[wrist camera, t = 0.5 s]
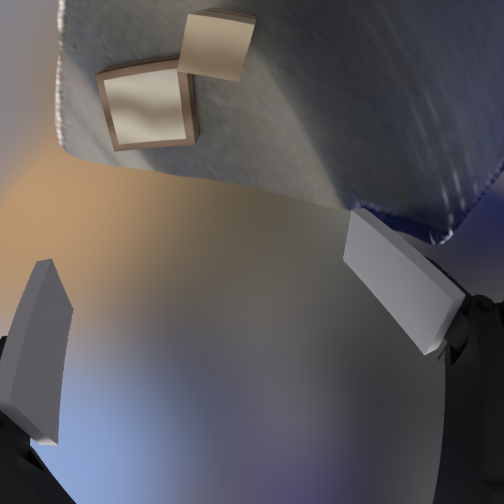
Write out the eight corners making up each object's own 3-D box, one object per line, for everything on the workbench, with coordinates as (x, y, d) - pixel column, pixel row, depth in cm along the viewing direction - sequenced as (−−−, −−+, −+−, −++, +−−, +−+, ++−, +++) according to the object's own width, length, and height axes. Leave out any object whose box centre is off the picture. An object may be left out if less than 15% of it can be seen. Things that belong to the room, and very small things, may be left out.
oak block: (212, 8, 25) (188, 14, 17) (257, 16, 26) (254, 25, 18) (203, 46, 29) (177, 71, 21) (246, 55, 29) (239, 82, 21)
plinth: (106, 67, 30) (94, 75, 27) (191, 53, 29) (185, 59, 27) (122, 140, 38) (114, 152, 36) (199, 134, 37) (195, 145, 35)
